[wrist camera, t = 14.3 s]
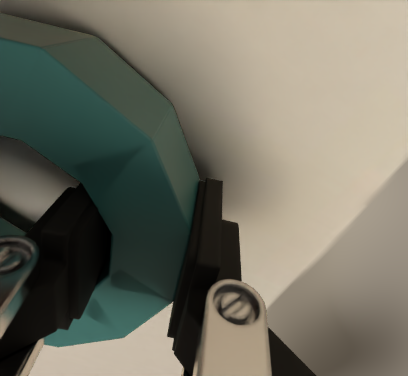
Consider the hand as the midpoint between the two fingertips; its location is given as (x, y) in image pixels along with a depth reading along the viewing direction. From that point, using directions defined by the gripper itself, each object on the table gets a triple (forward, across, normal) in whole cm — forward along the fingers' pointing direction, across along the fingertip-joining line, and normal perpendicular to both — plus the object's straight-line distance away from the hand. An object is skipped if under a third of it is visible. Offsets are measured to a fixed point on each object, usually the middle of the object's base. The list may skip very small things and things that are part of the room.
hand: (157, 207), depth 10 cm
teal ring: (0, +4, 0) cm, 4 cm away
